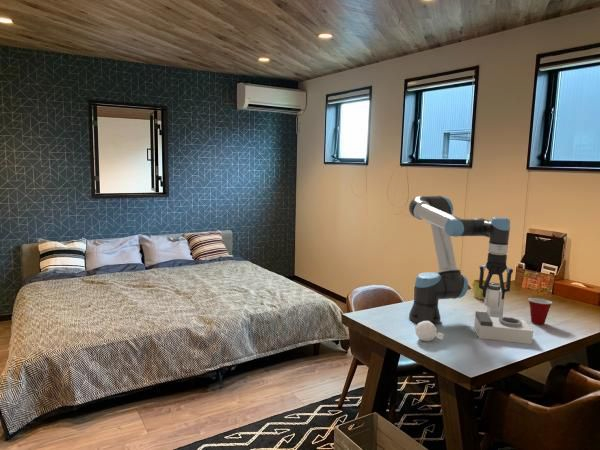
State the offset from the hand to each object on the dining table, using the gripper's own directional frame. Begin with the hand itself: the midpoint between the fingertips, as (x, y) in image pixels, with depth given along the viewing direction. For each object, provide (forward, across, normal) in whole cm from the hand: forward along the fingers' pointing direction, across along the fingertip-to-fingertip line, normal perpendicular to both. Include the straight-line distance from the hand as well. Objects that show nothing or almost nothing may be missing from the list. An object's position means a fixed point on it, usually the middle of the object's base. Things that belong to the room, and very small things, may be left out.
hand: (492, 305), depth 197 cm
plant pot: (+17, +5, +72) cm, 74 cm away
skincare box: (+17, +7, +34) cm, 38 cm away
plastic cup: (+17, +28, +36) cm, 48 cm away
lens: (0, 0, 0) cm, 0 cm away
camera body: (+17, +7, +11) cm, 21 cm away
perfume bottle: (+17, -26, -9) cm, 32 cm away
